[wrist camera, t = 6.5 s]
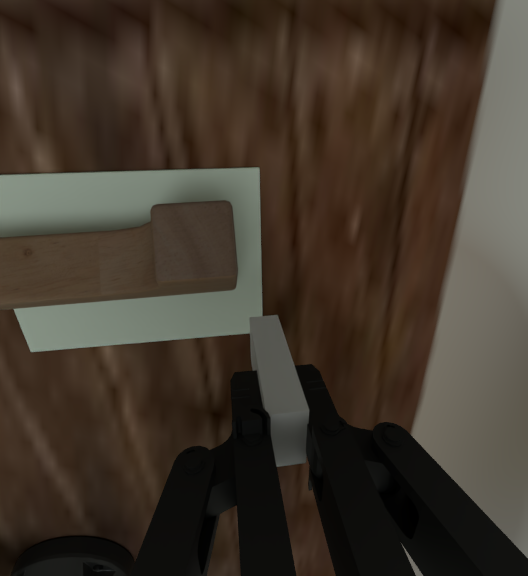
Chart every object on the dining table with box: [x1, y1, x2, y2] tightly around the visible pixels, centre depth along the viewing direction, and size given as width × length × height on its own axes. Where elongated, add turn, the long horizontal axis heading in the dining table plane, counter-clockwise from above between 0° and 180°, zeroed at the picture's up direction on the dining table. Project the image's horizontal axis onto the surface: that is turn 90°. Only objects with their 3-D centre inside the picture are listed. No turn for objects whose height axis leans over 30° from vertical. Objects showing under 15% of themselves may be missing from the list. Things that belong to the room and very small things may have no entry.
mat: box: [0, 167, 263, 352], centre depth 27 cm, size 21×15×1 cm
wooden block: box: [0, 200, 238, 310], centre depth 21 cm, size 9×4×18 cm
